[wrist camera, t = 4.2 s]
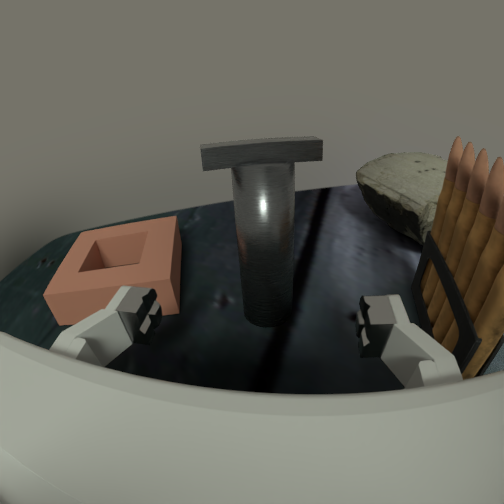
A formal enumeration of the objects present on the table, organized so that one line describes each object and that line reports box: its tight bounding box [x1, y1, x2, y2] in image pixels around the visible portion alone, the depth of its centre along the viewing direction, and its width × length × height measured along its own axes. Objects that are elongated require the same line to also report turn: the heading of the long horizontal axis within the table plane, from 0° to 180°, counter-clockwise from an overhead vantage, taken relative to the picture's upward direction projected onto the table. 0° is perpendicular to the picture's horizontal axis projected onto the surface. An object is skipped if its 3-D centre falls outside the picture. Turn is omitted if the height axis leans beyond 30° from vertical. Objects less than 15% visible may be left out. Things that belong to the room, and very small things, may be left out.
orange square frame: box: [43, 216, 182, 325], centre depth 22 cm, size 10×10×3 cm
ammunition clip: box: [411, 136, 504, 380], centre depth 12 cm, size 11×2×12 cm, turn 166°
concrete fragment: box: [356, 153, 448, 246], centre depth 26 cm, size 15×10×15 cm
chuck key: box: [200, 136, 323, 327], centre depth 16 cm, size 6×3×11 cm, turn 101°
